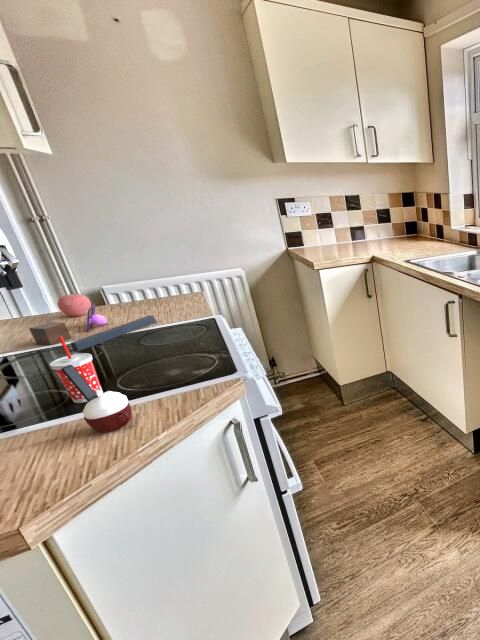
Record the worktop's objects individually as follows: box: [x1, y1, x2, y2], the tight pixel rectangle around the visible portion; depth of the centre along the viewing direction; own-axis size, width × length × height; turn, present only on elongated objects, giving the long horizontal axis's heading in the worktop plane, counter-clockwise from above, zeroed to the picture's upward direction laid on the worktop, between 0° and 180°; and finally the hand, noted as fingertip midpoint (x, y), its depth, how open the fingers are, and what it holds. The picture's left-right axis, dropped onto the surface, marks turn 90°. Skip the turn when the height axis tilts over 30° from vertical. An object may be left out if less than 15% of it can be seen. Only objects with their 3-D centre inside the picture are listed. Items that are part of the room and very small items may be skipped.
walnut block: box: [28, 321, 72, 346], centre depth 117 cm, size 5×5×5 cm
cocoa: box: [61, 365, 133, 433], centre depth 76 cm, size 10×6×12 cm, turn 53°
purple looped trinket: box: [85, 302, 111, 333], centre depth 128 cm, size 7×5×9 cm
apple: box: [57, 292, 92, 318], centre depth 137 cm, size 7×7×8 cm
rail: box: [70, 315, 157, 352], centre depth 120 cm, size 2×22×2 cm, turn 171°
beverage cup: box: [48, 336, 104, 404], centre depth 85 cm, size 6×6×14 cm
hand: (7, 287), depth 113 cm, fingers open, 4 cm apart
